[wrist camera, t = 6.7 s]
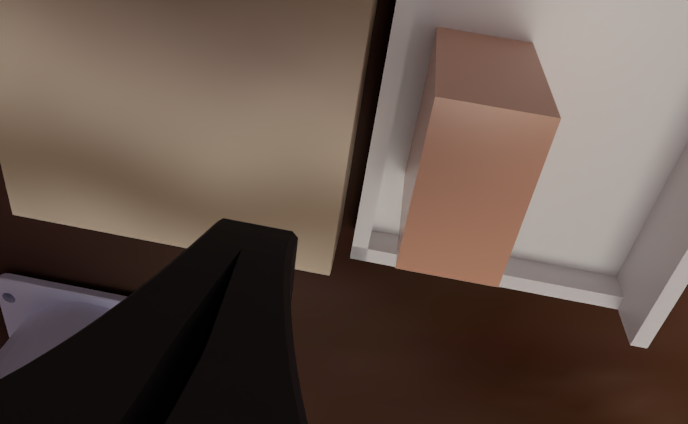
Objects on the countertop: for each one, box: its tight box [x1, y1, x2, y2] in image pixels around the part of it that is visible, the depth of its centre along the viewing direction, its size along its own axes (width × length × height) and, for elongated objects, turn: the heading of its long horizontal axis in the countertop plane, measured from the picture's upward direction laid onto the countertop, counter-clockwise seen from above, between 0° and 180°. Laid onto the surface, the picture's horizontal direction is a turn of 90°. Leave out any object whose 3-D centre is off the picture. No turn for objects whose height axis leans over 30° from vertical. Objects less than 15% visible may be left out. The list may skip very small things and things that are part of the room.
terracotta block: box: [395, 27, 561, 287], centre depth 15 cm, size 4×4×2 cm
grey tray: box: [350, 0, 688, 348], centre depth 14 cm, size 16×9×3 cm, turn 172°
